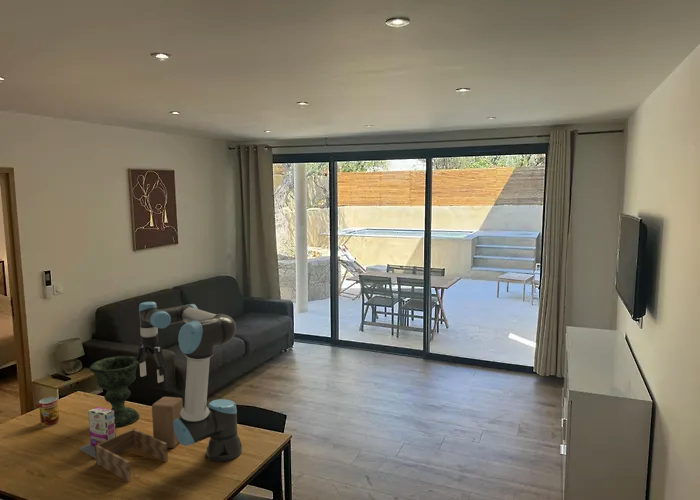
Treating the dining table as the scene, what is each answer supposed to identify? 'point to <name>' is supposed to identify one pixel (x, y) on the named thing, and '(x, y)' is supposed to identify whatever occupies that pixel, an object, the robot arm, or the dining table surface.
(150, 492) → the dining table surface
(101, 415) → the candy bar box
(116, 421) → the goblet
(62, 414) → the dining table surface
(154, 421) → the wooden block
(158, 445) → the brown u-shaped piece
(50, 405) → the canned food
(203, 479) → the dining table surface
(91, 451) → the slate mat
